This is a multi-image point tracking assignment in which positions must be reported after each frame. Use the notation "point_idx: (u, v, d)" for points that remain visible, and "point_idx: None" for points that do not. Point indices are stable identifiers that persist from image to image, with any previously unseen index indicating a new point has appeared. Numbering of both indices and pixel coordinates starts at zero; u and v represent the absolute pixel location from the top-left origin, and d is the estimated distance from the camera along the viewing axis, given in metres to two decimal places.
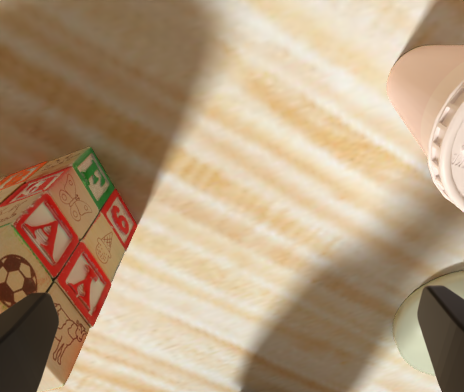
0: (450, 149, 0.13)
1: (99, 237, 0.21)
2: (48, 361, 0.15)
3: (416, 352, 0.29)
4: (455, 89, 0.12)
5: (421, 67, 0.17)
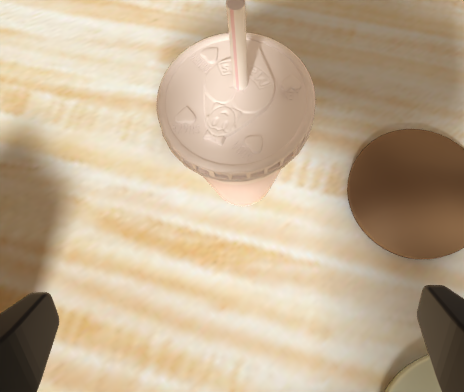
0: (167, 123, 0.15)
1: None
2: None
3: None
4: None
5: None
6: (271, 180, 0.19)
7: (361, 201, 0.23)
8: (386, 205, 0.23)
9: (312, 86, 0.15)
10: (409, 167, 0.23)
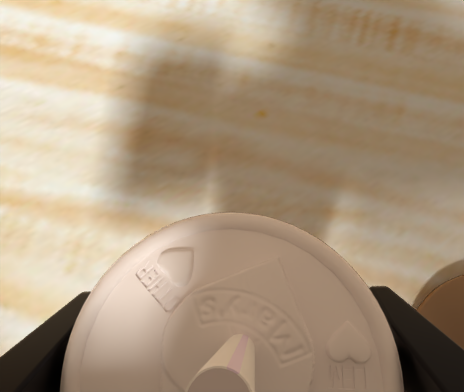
0: None
1: None
2: None
3: None
4: None
5: None
6: None
7: None
8: None
9: (395, 355, 0.07)
10: None
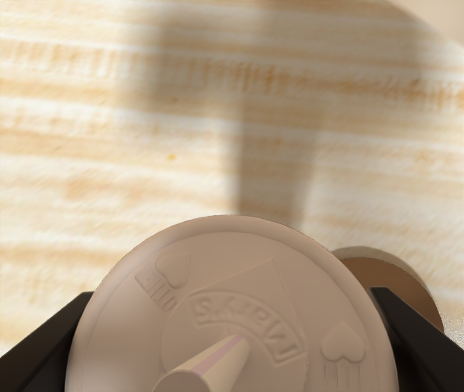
0: None
1: None
2: None
3: None
4: None
5: None
6: None
7: None
8: None
9: (390, 355, 0.07)
10: None
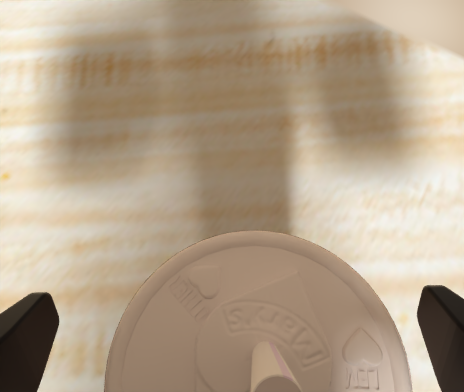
0: None
1: None
2: None
3: None
4: None
5: None
6: None
7: None
8: None
9: (404, 358, 0.08)
10: None
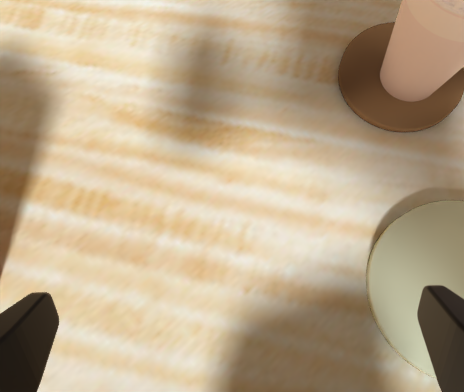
0: None
1: None
2: None
3: None
4: None
5: None
6: None
7: (351, 84, 0.25)
8: (373, 86, 0.25)
9: None
10: None
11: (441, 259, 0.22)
